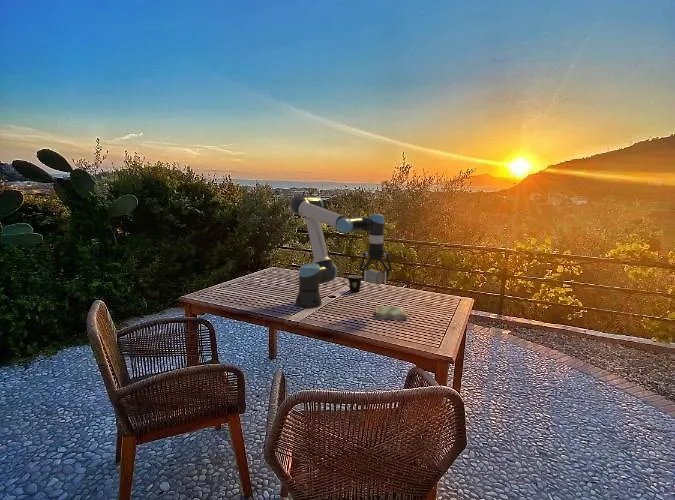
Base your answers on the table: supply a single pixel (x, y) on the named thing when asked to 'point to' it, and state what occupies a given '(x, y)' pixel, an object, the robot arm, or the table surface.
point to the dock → (391, 313)
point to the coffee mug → (354, 283)
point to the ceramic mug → (374, 277)
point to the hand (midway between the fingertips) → (375, 283)
